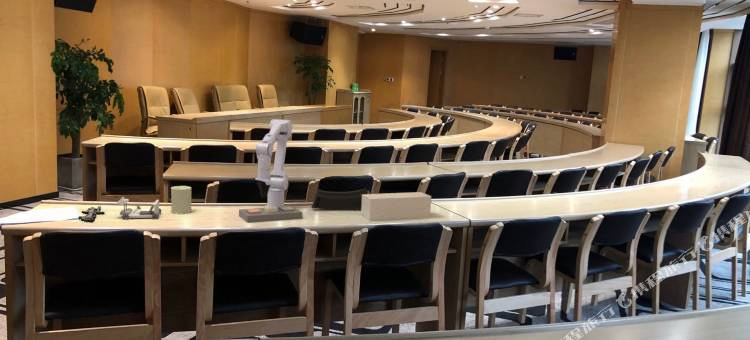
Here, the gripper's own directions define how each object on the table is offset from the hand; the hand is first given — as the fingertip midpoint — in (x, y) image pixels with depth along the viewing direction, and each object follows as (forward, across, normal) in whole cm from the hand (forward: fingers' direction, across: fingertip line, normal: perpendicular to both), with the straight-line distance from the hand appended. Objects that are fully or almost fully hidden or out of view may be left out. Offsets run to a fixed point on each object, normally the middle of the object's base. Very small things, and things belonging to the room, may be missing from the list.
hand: (263, 197), depth 282 cm
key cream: (+7, +3, +2) cm, 8 cm away
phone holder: (+9, -15, -53) cm, 56 cm away
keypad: (+9, +3, +2) cm, 10 cm away
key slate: (+8, +3, +10) cm, 14 cm away
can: (+9, -19, -34) cm, 40 cm away
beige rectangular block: (+10, +20, +60) cm, 64 cm away
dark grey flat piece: (+9, -23, -72) cm, 76 cm away
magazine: (+10, -1, +41) cm, 42 cm away
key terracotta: (+8, +3, -6) cm, 10 cm away
